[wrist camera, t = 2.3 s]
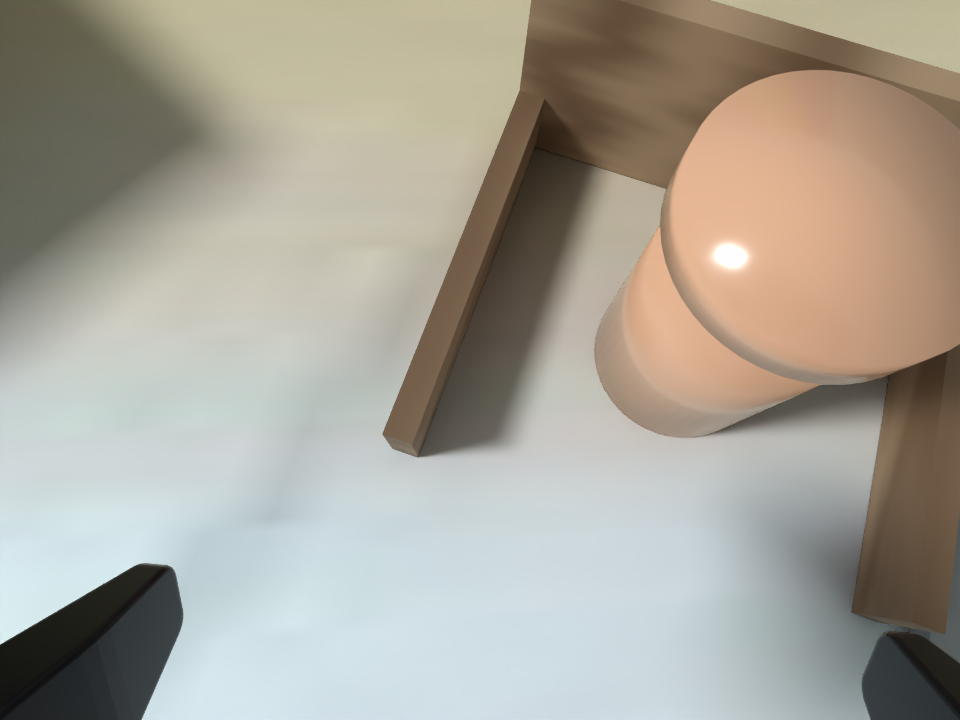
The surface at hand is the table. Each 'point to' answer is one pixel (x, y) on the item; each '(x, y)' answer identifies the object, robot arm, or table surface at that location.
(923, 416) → the wooden u-shaped bracket
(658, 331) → the peach mushroom peg
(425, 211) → the table surface
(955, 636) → the slate mat
